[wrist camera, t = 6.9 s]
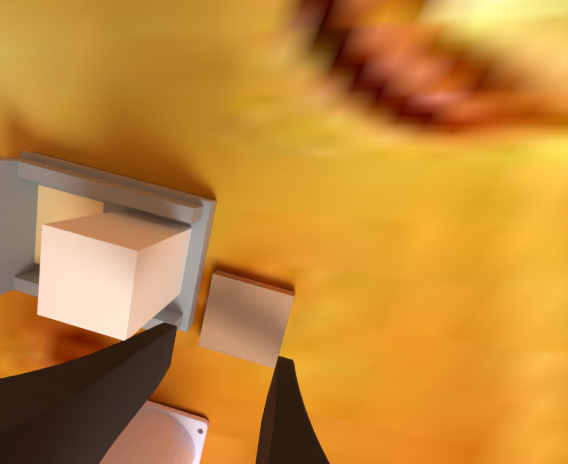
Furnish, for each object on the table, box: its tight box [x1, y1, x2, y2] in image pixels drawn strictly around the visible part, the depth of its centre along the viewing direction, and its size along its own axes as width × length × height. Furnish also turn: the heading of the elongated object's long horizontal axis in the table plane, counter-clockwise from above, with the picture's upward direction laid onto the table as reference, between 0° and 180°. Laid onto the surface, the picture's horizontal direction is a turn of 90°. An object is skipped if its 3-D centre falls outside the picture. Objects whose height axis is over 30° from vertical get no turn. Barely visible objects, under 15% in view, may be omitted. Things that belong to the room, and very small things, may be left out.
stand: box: [198, 270, 295, 368], centre depth 21 cm, size 6×6×1 cm
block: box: [37, 210, 192, 341], centre depth 17 cm, size 5×5×6 cm
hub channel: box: [0, 151, 217, 332], centre depth 19 cm, size 10×14×4 cm
